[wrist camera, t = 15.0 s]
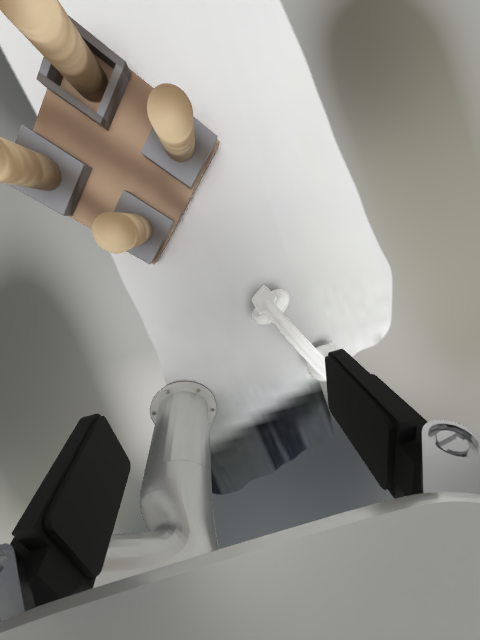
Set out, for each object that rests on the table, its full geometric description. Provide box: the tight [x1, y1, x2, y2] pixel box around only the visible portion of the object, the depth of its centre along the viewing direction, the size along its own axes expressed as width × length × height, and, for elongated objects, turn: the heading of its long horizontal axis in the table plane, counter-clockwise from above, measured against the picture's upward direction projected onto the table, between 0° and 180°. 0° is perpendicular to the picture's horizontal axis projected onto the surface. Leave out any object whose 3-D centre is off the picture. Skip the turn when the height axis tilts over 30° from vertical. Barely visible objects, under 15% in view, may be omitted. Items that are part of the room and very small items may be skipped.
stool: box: [0, 16, 220, 264], centre depth 27 cm, size 18×18×15 cm
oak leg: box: [0, 0, 109, 103], centre depth 22 cm, size 4×4×12 cm
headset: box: [252, 285, 339, 381], centre depth 38 cm, size 20×7×18 cm, turn 43°
